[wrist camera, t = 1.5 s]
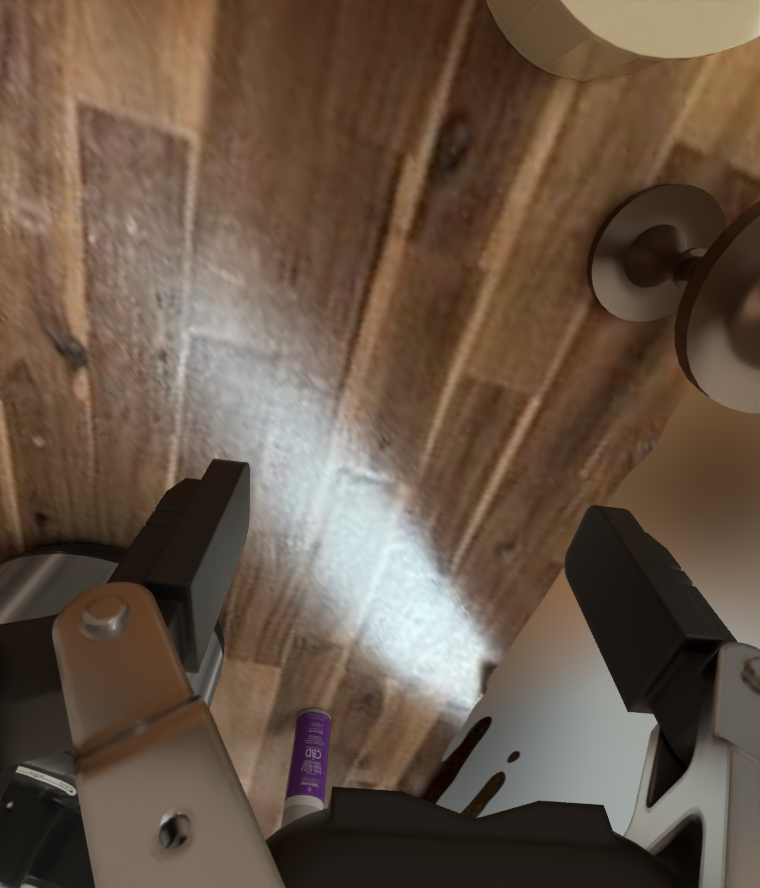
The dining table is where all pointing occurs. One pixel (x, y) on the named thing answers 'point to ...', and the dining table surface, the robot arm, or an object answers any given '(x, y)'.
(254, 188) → the dining table surface
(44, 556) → the pressure cooker
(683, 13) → the lid
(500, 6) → the pot
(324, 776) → the container
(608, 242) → the candlestick
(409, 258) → the dining table surface
